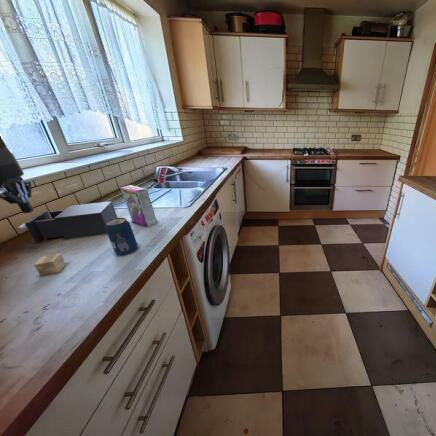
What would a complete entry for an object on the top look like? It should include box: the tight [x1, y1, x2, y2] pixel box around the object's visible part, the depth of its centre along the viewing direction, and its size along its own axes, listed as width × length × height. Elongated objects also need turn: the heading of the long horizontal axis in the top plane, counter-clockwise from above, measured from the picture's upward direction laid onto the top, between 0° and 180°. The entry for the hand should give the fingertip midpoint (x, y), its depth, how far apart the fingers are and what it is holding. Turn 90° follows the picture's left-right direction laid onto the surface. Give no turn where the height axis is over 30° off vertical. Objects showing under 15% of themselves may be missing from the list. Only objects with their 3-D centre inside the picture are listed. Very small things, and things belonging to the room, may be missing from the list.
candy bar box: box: [120, 184, 158, 227], centre depth 98 cm, size 11×5×16 cm, turn 63°
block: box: [33, 253, 67, 277], centre depth 71 cm, size 4×4×4 cm
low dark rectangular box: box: [54, 200, 119, 240], centre depth 94 cm, size 15×13×10 cm
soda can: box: [105, 217, 138, 256], centre depth 79 cm, size 7×7×12 cm
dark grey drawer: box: [16, 209, 65, 242], centre depth 91 cm, size 18×11×8 cm, turn 109°
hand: (28, 212), depth 80 cm, fingers closed
